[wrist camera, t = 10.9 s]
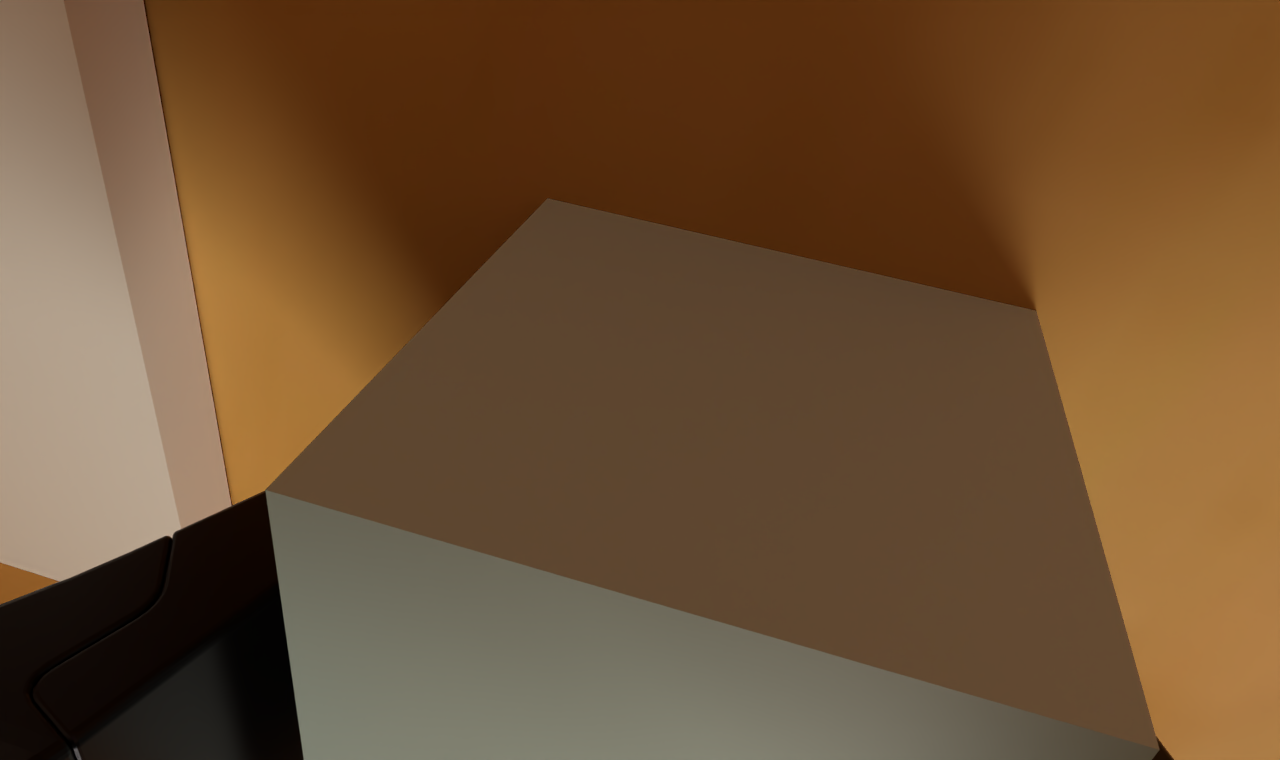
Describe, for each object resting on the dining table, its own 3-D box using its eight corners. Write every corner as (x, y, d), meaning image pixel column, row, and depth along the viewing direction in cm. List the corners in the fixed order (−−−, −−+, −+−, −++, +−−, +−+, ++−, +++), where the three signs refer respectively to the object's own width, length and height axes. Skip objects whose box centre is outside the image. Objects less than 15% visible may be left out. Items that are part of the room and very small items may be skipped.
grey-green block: (886, 642, 11) (878, 1105, 7) (523, 537, 12) (324, 907, 8) (1036, 307, 8) (1158, 748, 4) (549, 195, 9) (264, 490, 5)
